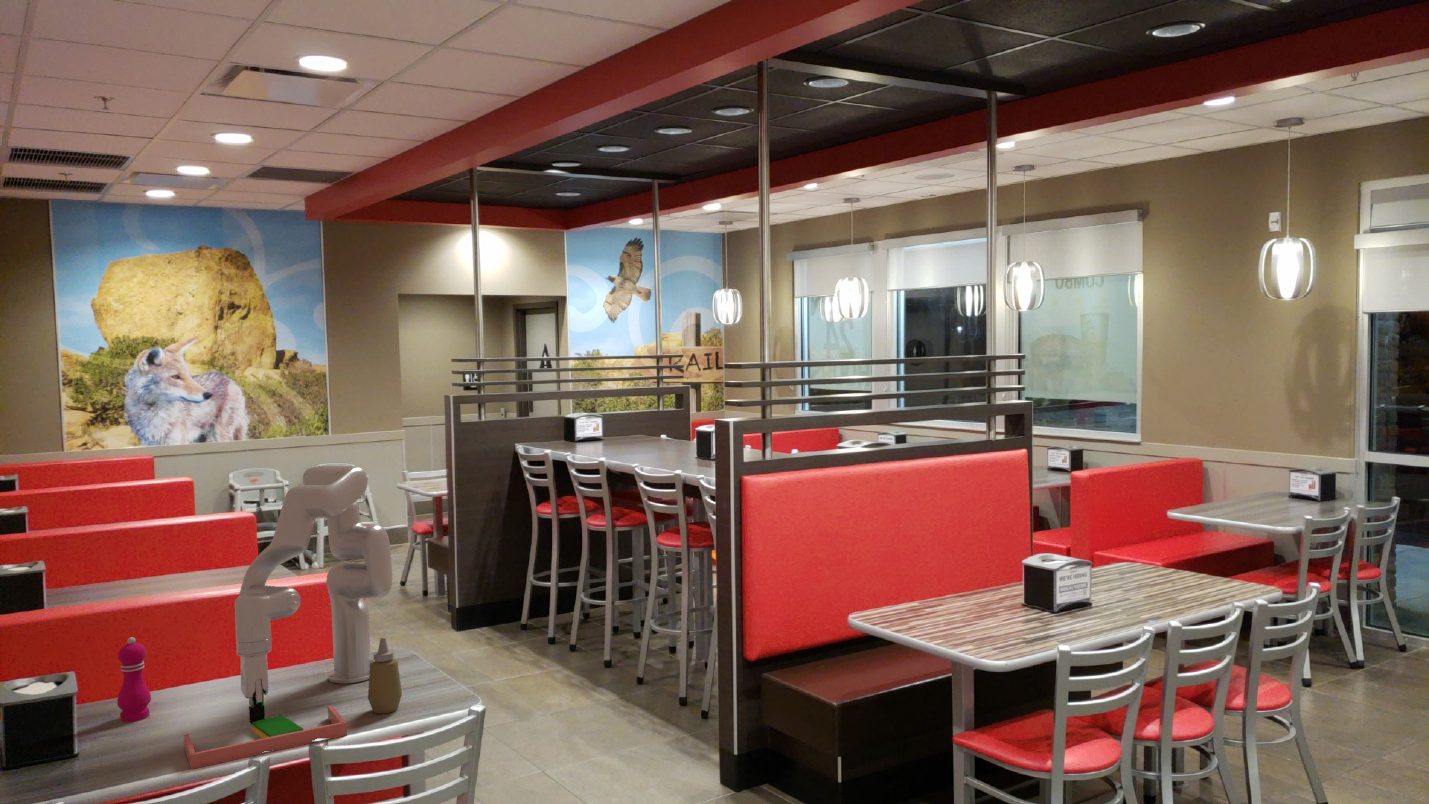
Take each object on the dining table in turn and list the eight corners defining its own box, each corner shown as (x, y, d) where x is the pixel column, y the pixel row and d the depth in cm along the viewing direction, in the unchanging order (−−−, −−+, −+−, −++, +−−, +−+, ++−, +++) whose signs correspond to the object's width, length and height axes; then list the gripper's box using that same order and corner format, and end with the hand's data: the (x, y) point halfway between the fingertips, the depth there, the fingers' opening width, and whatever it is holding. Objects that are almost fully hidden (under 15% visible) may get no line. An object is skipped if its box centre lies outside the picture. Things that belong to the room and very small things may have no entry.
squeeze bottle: (389, 717, 242) (386, 643, 242) (361, 714, 245) (358, 641, 244) (409, 706, 250) (406, 634, 249) (382, 703, 253) (379, 632, 252)
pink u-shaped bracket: (332, 717, 243) (332, 705, 243) (346, 735, 231) (346, 722, 231) (184, 748, 226) (183, 735, 226) (191, 769, 213) (190, 755, 213)
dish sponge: (272, 747, 226) (272, 736, 226) (251, 732, 236) (251, 722, 236) (304, 738, 231) (303, 728, 231) (282, 724, 241) (282, 714, 241)
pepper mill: (141, 710, 252) (137, 632, 251) (157, 715, 248) (154, 635, 247) (111, 719, 246) (108, 639, 245) (128, 724, 242) (124, 642, 241)
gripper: (232, 642, 242) (235, 716, 243) (241, 656, 229) (244, 735, 230) (266, 636, 246) (269, 710, 247) (276, 650, 233) (279, 728, 234)
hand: (257, 722), depth 238 cm, fingers closed
